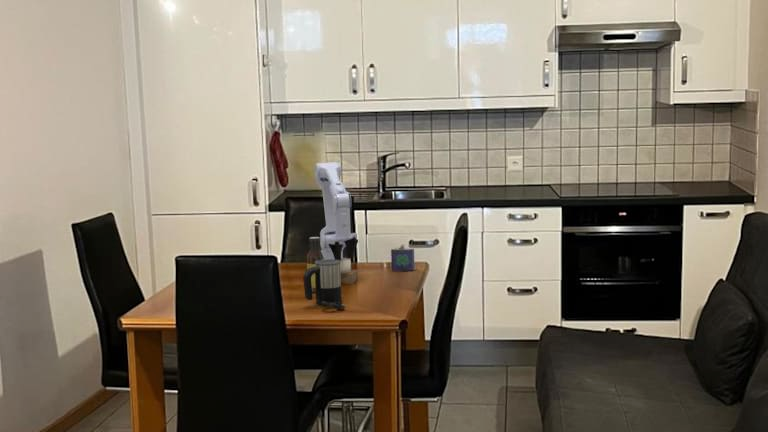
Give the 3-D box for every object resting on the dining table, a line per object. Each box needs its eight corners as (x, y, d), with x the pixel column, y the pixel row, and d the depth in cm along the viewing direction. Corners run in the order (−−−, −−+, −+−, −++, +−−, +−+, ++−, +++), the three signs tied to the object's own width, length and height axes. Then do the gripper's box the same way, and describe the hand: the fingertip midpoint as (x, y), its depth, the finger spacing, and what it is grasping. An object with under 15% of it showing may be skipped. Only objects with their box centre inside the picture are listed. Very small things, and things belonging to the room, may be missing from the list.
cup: (335, 272, 349) (334, 259, 349) (343, 270, 353) (343, 257, 353) (345, 273, 346) (345, 260, 346) (353, 271, 350) (353, 258, 350)
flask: (414, 269, 367) (413, 243, 365) (414, 271, 364) (413, 244, 363) (391, 270, 368) (390, 244, 366) (391, 271, 365) (390, 245, 363)
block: (331, 284, 348) (331, 273, 347) (337, 279, 355) (336, 269, 355) (352, 284, 346) (351, 274, 345) (357, 280, 354) (356, 269, 353)
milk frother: (329, 299, 323) (327, 257, 320) (362, 304, 313) (361, 262, 310) (300, 307, 312) (298, 264, 310) (334, 313, 302) (332, 269, 300)
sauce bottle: (322, 293, 332) (320, 239, 329) (306, 292, 333) (303, 239, 330) (327, 289, 338) (325, 236, 335) (311, 288, 339) (308, 236, 336)
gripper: (339, 228, 339) (340, 264, 341) (362, 222, 351) (364, 257, 353) (324, 227, 343) (325, 262, 345) (348, 221, 355) (349, 255, 357)
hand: (344, 259), depth 349 cm, fingers open, 7 cm apart
